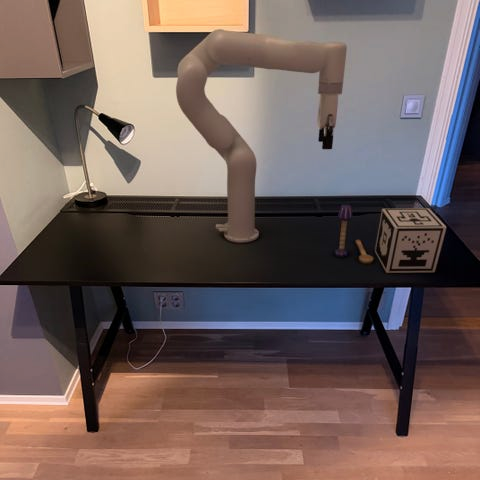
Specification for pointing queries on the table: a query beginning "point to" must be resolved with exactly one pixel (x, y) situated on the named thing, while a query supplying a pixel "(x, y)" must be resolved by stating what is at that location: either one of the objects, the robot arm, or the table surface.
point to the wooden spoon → (363, 253)
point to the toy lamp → (343, 228)
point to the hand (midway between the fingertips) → (324, 145)
